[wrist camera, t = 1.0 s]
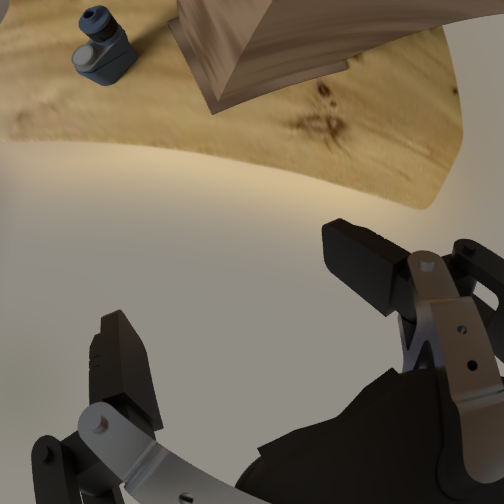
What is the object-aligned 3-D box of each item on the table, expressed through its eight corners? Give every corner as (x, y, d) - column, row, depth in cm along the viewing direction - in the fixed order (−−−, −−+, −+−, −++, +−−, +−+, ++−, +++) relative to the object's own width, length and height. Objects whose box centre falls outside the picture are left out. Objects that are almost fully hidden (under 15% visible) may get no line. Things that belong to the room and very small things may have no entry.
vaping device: (143, 54, 21) (113, 7, 11) (109, 91, 22) (58, 66, 11) (128, 42, 20) (92, -6, 10) (94, 79, 21) (39, 51, 10)
